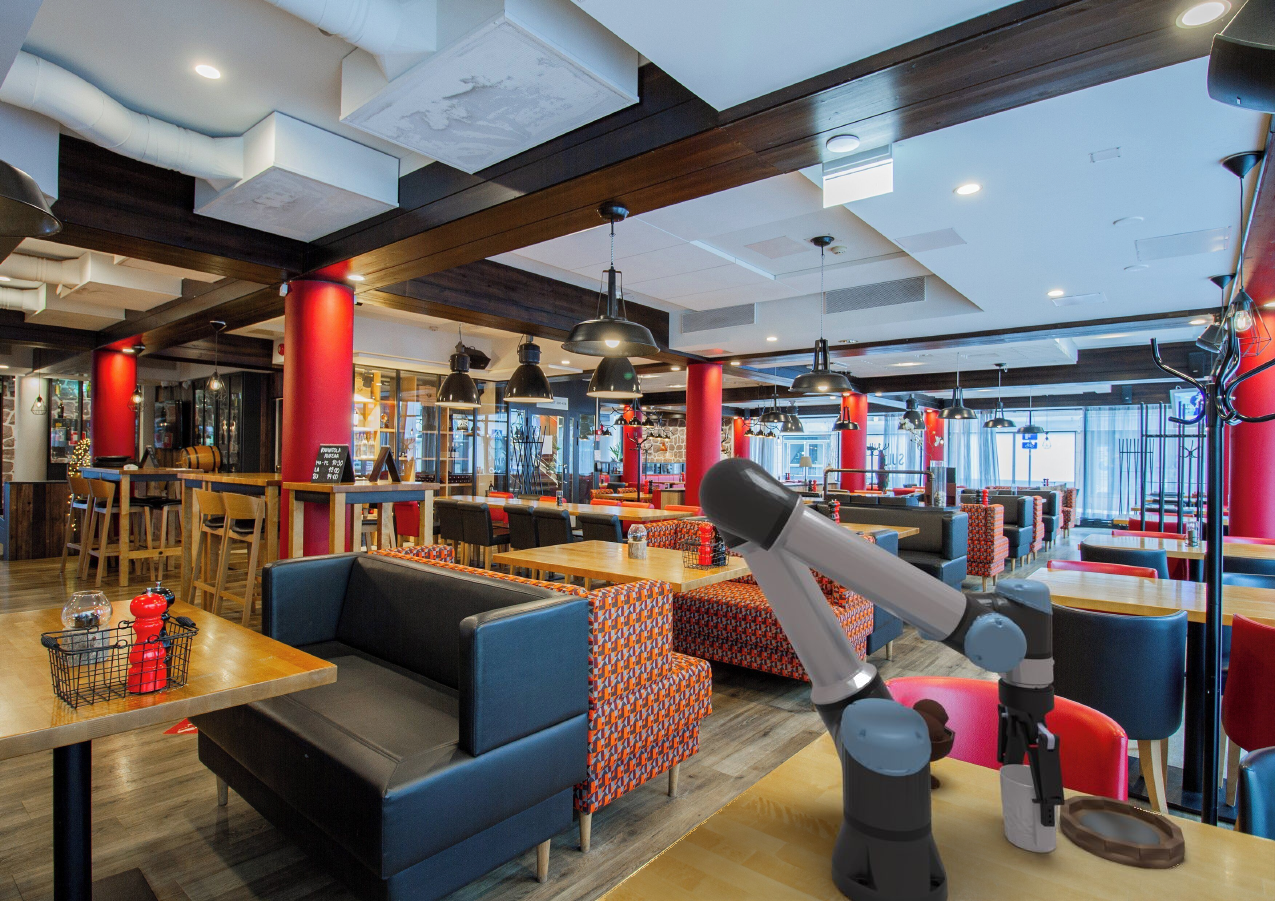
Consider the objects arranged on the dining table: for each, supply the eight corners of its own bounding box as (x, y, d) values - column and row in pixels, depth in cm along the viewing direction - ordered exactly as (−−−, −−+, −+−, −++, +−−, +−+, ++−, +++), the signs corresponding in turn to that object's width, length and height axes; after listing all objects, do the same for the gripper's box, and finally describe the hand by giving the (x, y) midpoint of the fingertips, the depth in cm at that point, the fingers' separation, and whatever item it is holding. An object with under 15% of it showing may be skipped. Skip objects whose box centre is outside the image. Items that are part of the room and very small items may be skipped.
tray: (1099, 867, 96) (1098, 847, 96) (1040, 811, 112) (1039, 794, 112) (1212, 869, 95) (1212, 849, 95) (1136, 813, 111) (1136, 796, 111)
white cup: (1069, 857, 99) (1067, 789, 99) (1011, 852, 100) (1009, 784, 100) (1048, 829, 106) (1046, 765, 107) (994, 824, 108) (992, 762, 108)
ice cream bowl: (907, 763, 130) (906, 686, 131) (967, 783, 122) (965, 700, 123) (881, 781, 123) (879, 699, 124) (942, 803, 115) (940, 715, 115)
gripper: (1091, 703, 94) (1097, 869, 93) (1016, 661, 114) (1020, 797, 113) (1036, 703, 94) (1041, 868, 93) (971, 661, 114) (975, 796, 114)
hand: (1029, 829), depth 103 cm, fingers closed on white cup, 8 cm apart
